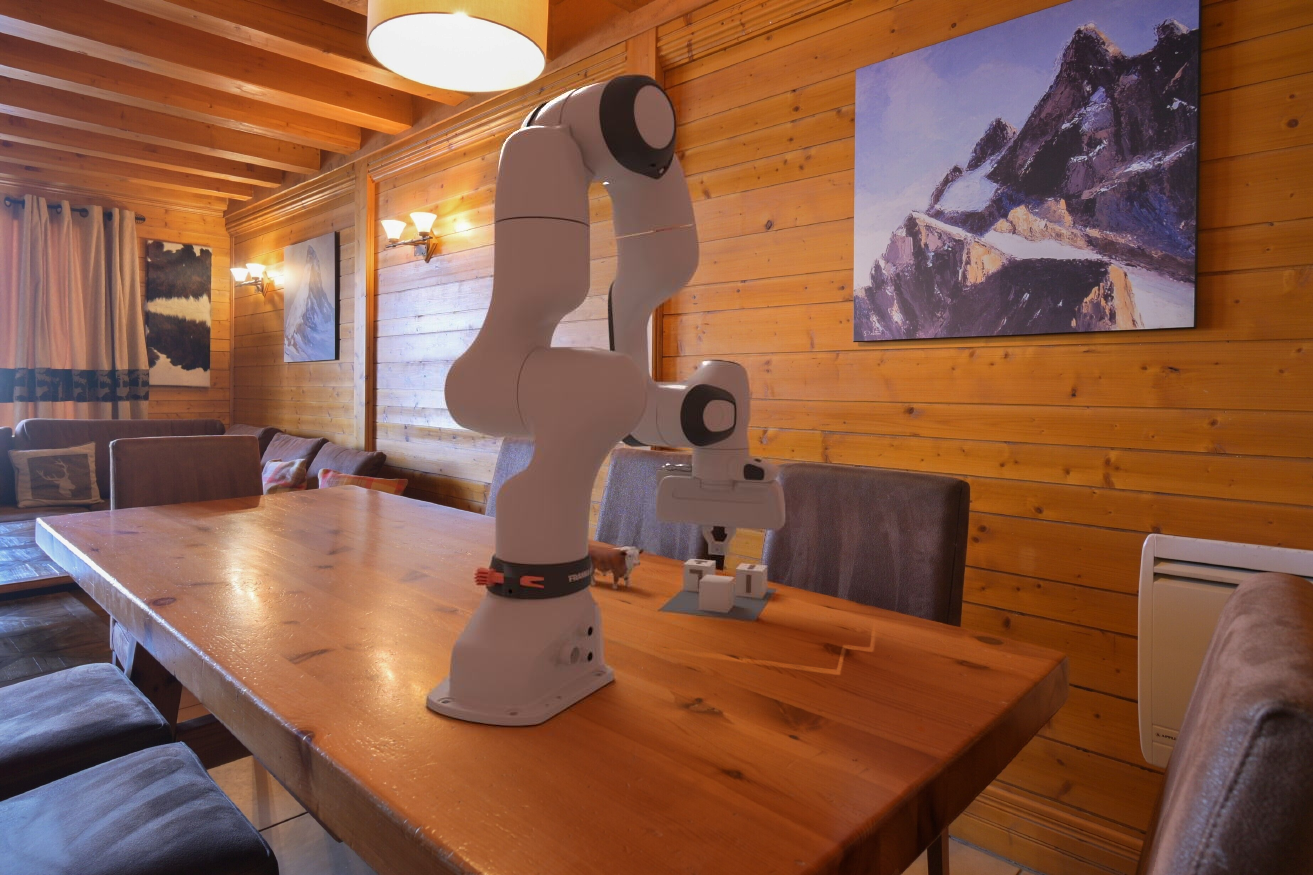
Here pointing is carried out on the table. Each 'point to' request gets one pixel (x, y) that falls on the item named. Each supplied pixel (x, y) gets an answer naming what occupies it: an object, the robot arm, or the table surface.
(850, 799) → the table surface
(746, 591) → the digit block 1
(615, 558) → the bull figurine
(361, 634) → the table surface
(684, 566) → the digit block 7
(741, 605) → the mat
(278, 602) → the table surface
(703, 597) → the plain block
